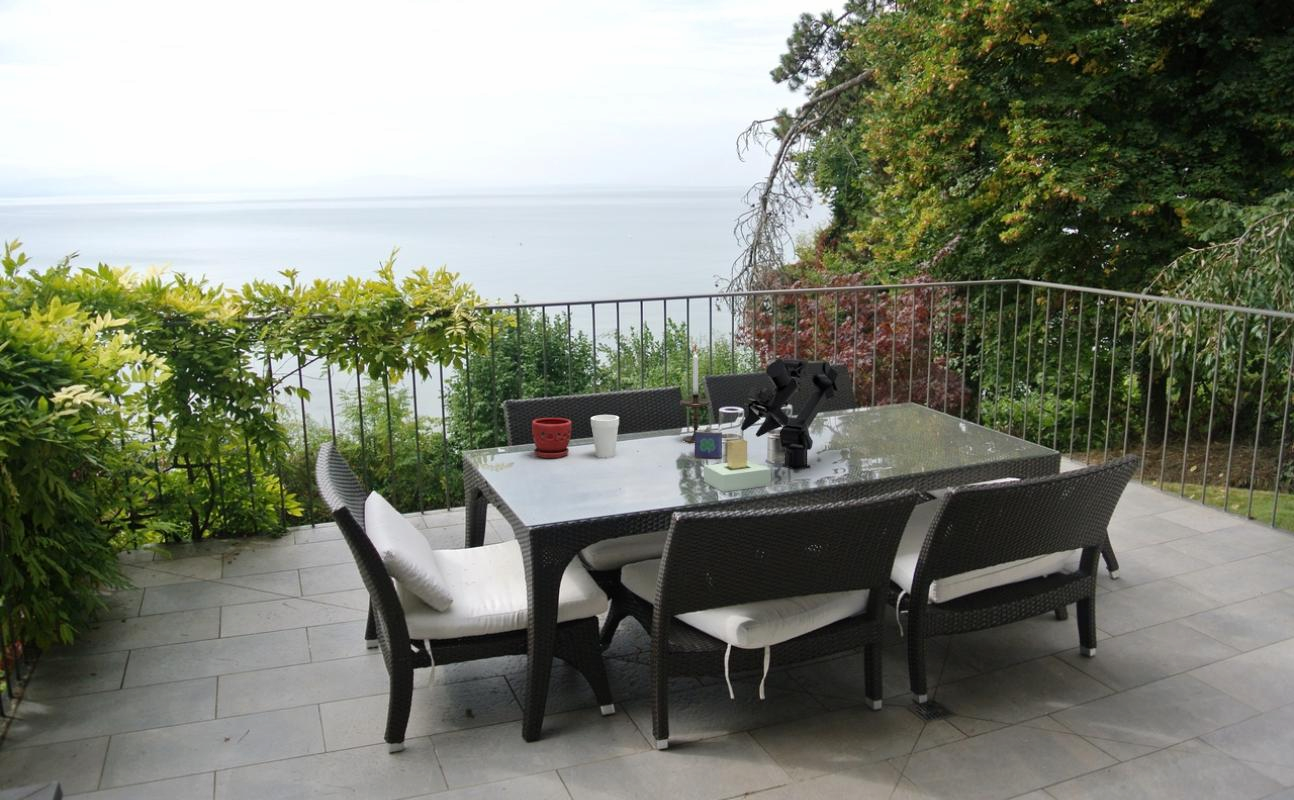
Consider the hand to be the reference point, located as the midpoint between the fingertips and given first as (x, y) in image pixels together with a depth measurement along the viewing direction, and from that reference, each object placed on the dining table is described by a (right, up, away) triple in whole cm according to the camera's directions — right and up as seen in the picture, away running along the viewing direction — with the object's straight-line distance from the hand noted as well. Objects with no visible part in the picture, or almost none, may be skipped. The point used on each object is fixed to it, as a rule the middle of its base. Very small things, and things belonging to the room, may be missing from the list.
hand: (749, 432), depth 289 cm
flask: (-11, -9, +26) cm, 29 cm away
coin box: (-4, -15, -5) cm, 16 cm away
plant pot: (-63, -9, +32) cm, 71 cm away
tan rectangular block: (-4, -15, -5) cm, 16 cm away
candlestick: (-14, -5, +50) cm, 52 cm away
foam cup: (-45, -9, +30) cm, 55 cm away
